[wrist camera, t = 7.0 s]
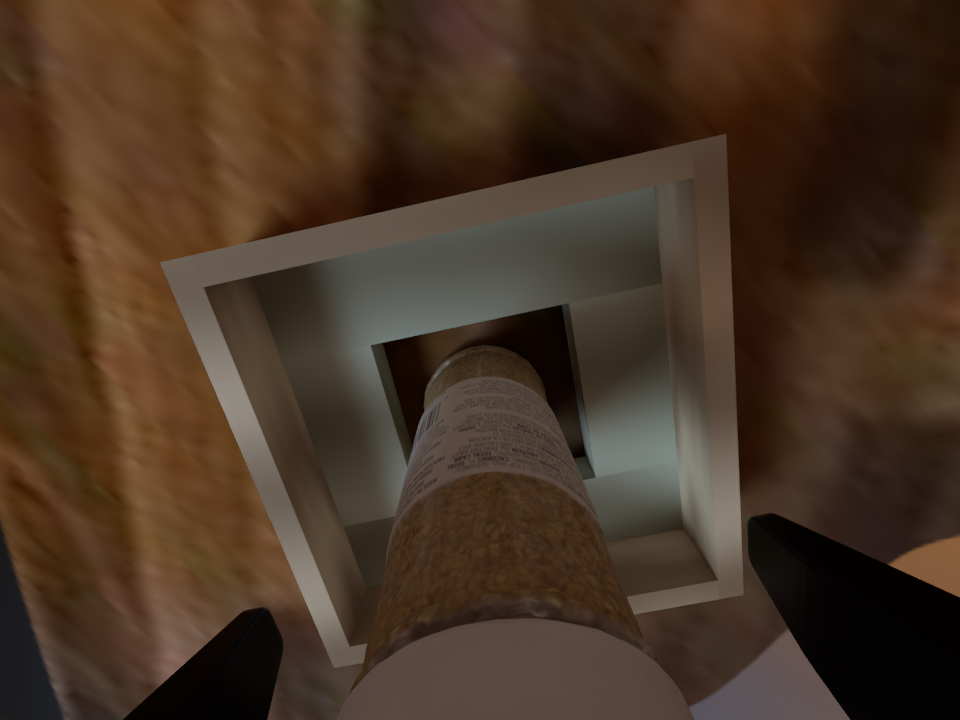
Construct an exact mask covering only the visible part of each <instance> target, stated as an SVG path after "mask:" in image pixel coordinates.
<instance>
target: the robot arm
mask: <svg viewBox="0 0 960 720" xmlns="http://www.w3.org/2000/svg"><path fill="white" fill-rule="evenodd" d="M747 529H748V555H749V559H750V562H751V564H752V566H753V568H754V570H755V572H756V573H757V575H758V577H759V579H760V580H761V582H762V584H763V585H764V587H765V589H766V591H767V592H768V594H769V596H770V597H771V599H772V601H773V602H774V604H775V606H776V608H777V609H778V611H779V613H780V614H781V616H782V618H783V620H784V621H785V623H786V625H787V626H788V628H789V630H790V632H791V633H792V635H793V637H794V638H795V640H796V642H797V643H798V645H799V646H800V648H801V650H802V651H803V653H804V655H805V656H806V658H807V659H808V661H809V662H810V663H811V665H812V666H813V668H814V669H815V671H816V672H817V674H818V675H819V676H820V678H821V679H822V681H823V682H824V683H825V685H826V686H827V688H829V690H830V692H831V693H832V695H833V696H834V697H835V699H836V700H837V702H838V703H839V704H840V706H841V707H842V709H843V710H844V711H845V713H846V714H847V716H848V717H849V718H850V720H960V597H957V596H955V595H953V594H951V593H948V592H946V591H944V590H942V589H940V588H938V587H935V586H933V585H931V584H929V583H926V582H924V581H922V580H919V579H918V578H916V577H913V576H911V575H909V574H906V573H905V572H902V571H900V570H898V569H896V568H893V567H891V566H889V565H887V564H885V563H883V562H880V561H878V560H876V559H874V558H872V557H869V556H867V555H865V554H863V553H861V552H858V551H856V550H854V549H852V548H850V547H847V546H845V545H843V544H841V543H839V542H836V541H834V540H832V539H830V538H828V537H825V536H823V535H821V534H819V533H817V532H814V531H812V530H810V529H808V528H806V527H803V526H801V525H799V524H797V523H795V522H792V521H790V520H788V519H786V518H784V517H781V516H779V515H777V514H774V513H767V514H762V515H756V516H752V517H750V518H749V519H748V524H747ZM282 654H283V639H282V636H281V634H280V632H279V630H278V627H277V625H276V623H275V621H274V619H273V617H272V615H271V612H270V611H269V610H268V609H267V608H266V607H260V608H255V609H249V610H246V611H243V612H242V613H240V614H239V615H238V616H237V617H236V618H235V619H234V620H233V621H232V622H230V623H229V624H228V625H227V626H226V627H225V628H224V629H223V630H222V631H220V632H219V633H218V634H217V635H216V636H215V637H214V638H213V639H212V640H210V641H209V642H208V643H207V644H206V645H205V646H204V647H203V648H202V649H201V650H199V651H198V652H197V653H196V654H195V655H194V656H193V657H192V658H191V659H189V660H188V661H187V662H186V663H185V664H184V665H183V666H182V667H181V668H179V669H178V670H177V671H176V672H175V673H174V674H173V675H172V676H171V677H169V678H168V679H167V680H166V681H165V682H164V683H163V684H162V685H161V686H160V687H158V688H157V689H156V690H155V691H154V692H153V693H152V694H151V695H150V696H148V697H147V698H146V699H145V700H144V701H143V702H142V703H141V704H140V705H138V706H137V707H136V708H135V709H134V710H133V711H132V712H131V713H130V714H129V715H127V716H126V717H125V718H124V719H123V720H267V719H268V714H269V710H270V706H271V701H272V697H273V693H274V688H275V684H276V680H277V676H278V671H279V667H280V663H281V658H282Z"/></svg>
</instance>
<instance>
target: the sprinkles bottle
mask: <svg viewBox="0 0 960 720" xmlns="http://www.w3.org/2000/svg"><path fill="white" fill-rule="evenodd" d="M424 410H425V411H424V414H423V415H422V417H421V420H420V422H419V425H418V428H417V432H416V436H415V440H414V444H413V448H412V452H411V456H410V460H409V463H408V467H407V471H406V475H405V479H404V483H403V487H402V491H401V495H400V499H399V503H398V507H397V511H396V515H395V519H394V523H393V527H392V531H391V535H390V539H389V543H388V549H387V555H386V569H385V573H384V576H383V580H382V585H381V589H380V594H379V600H378V604H377V609H376V614H375V618H374V622H373V626H372V631H371V634H370V636H369V640H368V643H367V647H366V652H365V658H364V664H363V669H362V671H361V672H360V674H359V675H358V677H357V678H356V680H355V682H354V684H353V686H352V688H351V691H350V694H349V696H348V698H347V700H346V701H345V703H344V704H343V706H342V708H341V710H340V712H339V714H338V716H337V718H336V720H694V718H693V716H692V714H691V712H690V709H689V707H688V705H687V703H686V701H685V699H684V697H683V695H682V693H681V691H680V690H679V688H678V687H677V686H676V684H675V683H674V681H673V680H672V679H671V678H670V677H669V675H668V674H667V673H666V672H665V671H664V670H663V669H662V668H661V667H660V666H659V665H658V664H657V663H656V656H655V654H654V651H653V650H652V648H651V647H650V645H649V644H648V643H647V642H646V641H645V640H644V638H643V636H642V634H641V632H640V629H639V626H638V623H637V621H636V619H635V617H634V613H633V610H632V608H631V607H630V604H629V601H628V599H627V597H626V595H625V593H624V590H623V589H622V587H621V584H620V582H619V579H618V574H617V571H616V569H615V567H614V565H613V562H612V559H611V557H610V554H609V550H608V548H607V545H606V542H605V540H604V538H603V529H602V525H601V523H600V520H599V518H598V515H597V513H596V510H595V508H594V506H593V503H592V501H591V499H590V496H589V494H588V492H587V489H586V487H585V485H584V482H583V480H582V477H581V475H580V473H579V470H578V468H577V466H576V464H575V461H574V459H573V456H572V454H571V452H570V449H569V447H568V445H567V442H566V440H565V438H564V435H563V433H562V431H561V428H560V426H559V423H558V421H557V419H556V417H555V415H554V413H553V411H552V410H551V408H550V407H549V405H548V403H547V401H546V393H545V389H544V386H543V383H542V381H541V379H540V377H539V375H538V374H537V372H536V371H535V369H534V368H533V366H532V365H531V364H530V363H529V361H527V360H526V359H524V358H522V357H521V356H519V355H518V354H517V353H515V352H513V351H510V350H507V349H505V348H503V347H498V346H489V345H481V346H474V347H469V348H466V349H464V350H461V351H458V352H456V353H455V354H453V355H452V356H450V357H448V358H447V359H446V360H445V361H443V362H442V363H441V364H440V365H439V366H438V368H437V370H436V371H435V372H434V373H433V375H432V377H431V379H430V381H429V383H428V385H427V388H426V391H425V400H424Z"/></svg>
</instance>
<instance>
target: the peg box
mask: <svg viewBox="0 0 960 720" xmlns="http://www.w3.org/2000/svg"><path fill="white" fill-rule="evenodd" d="M160 264H161V266H162V268H163V271H164V273H165V275H166V278H167V280H168V282H169V285H170V287H171V289H172V292H173V294H174V296H175V299H176V301H177V303H178V306H179V308H180V310H181V313H182V315H183V317H184V320H185V322H186V324H187V327H188V329H189V331H190V334H191V336H192V338H193V341H194V343H195V345H196V348H197V350H198V352H199V355H200V357H201V359H202V361H203V364H204V366H205V368H206V371H207V373H208V375H209V378H210V380H211V382H212V385H213V387H214V389H215V392H216V394H217V396H218V399H219V401H220V403H221V406H222V408H223V410H224V413H225V415H226V417H227V420H228V422H229V424H230V427H231V429H232V431H233V434H234V436H235V438H236V441H237V443H238V445H239V448H240V450H241V452H242V455H243V457H244V459H245V462H246V464H247V466H248V469H249V471H250V473H251V476H252V478H253V480H254V483H255V485H256V487H257V490H258V492H259V494H260V497H261V499H262V501H263V504H264V506H265V508H266V510H267V513H268V515H269V517H270V520H271V522H272V524H273V527H274V529H275V531H276V534H277V536H278V538H279V541H280V543H281V545H282V548H283V550H284V552H285V555H286V557H287V559H288V562H289V564H290V566H291V569H292V571H293V573H294V576H295V578H296V580H297V583H298V585H299V587H300V590H301V592H302V594H303V597H304V599H305V601H306V604H307V606H308V608H309V611H310V613H311V615H312V618H313V620H314V622H315V625H316V627H317V629H318V632H319V634H320V636H321V639H322V641H323V643H324V646H325V648H326V650H327V653H328V655H329V657H330V659H331V662H332V664H333V666H334V668H336V667H342V666H348V665H353V664H359V663H364V658H365V652H366V647H367V643H368V640H369V636H370V634H371V631H372V626H373V622H374V618H375V614H376V609H377V604H378V600H379V594H380V589H381V585H382V580H383V576H384V573H385V569H386V555H387V549H388V543H389V539H390V535H391V531H392V527H393V523H394V519H395V515H396V511H397V507H398V503H399V499H400V495H401V491H402V487H403V483H404V479H405V475H406V471H407V467H408V463H409V460H410V456H411V452H412V448H413V446H412V443H411V439H410V436H409V432H408V429H407V426H406V422H405V419H404V415H403V412H402V408H401V405H400V402H399V398H398V395H397V391H396V388H395V385H394V381H393V378H392V374H391V371H390V368H389V364H388V361H387V357H386V354H385V350H384V347H383V344H382V343H384V342H389V341H393V340H398V339H403V338H407V337H412V336H417V335H421V334H426V333H431V332H436V331H440V330H445V329H450V328H454V327H459V326H464V325H468V324H473V323H478V322H482V321H487V320H492V319H497V318H501V317H506V316H511V315H515V314H520V313H525V312H529V311H534V310H539V309H543V308H548V307H553V306H558V305H562V310H563V316H564V322H565V328H566V335H567V341H568V347H569V354H570V360H571V366H572V373H573V379H574V385H575V392H576V398H577V404H578V410H579V417H580V423H581V429H582V436H583V442H584V448H585V455H586V456H584V457H579V458H574V461H575V464H576V466H577V468H578V470H579V473H580V475H581V477H582V480H583V482H584V485H585V487H586V489H587V492H588V494H589V496H590V499H591V501H592V503H593V506H594V508H595V510H596V513H597V515H598V518H599V520H600V523H601V525H602V529H603V538H604V540H605V542H606V545H607V548H608V550H609V554H610V557H611V559H612V562H613V565H614V567H615V569H616V571H617V574H618V579H619V582H620V584H621V587H622V589H623V590H624V593H625V595H626V597H627V599H628V601H629V604H630V607H631V608H632V610H633V613H634V614H639V613H645V612H651V611H656V610H662V609H667V608H673V607H679V606H684V605H690V604H696V603H701V602H707V601H712V600H718V599H724V598H729V597H735V596H740V595H744V590H743V564H742V537H741V511H740V484H739V458H738V431H737V405H736V378H735V352H734V325H733V299H732V272H731V245H730V219H729V192H728V166H727V139H726V134H723V135H718V136H714V137H709V138H705V139H701V140H696V141H692V142H688V143H683V144H679V145H674V146H670V147H666V148H661V149H657V150H652V151H648V152H644V153H639V154H635V155H630V156H626V157H622V158H617V159H613V160H608V161H604V162H600V163H595V164H591V165H586V166H582V167H578V168H573V169H569V170H564V171H560V172H556V173H551V174H547V175H543V176H538V177H534V178H529V179H525V180H521V181H516V182H512V183H507V184H503V185H499V186H494V187H490V188H485V189H481V190H477V191H472V192H468V193H463V194H459V195H455V196H450V197H446V198H441V199H437V200H433V201H428V202H424V203H419V204H415V205H411V206H406V207H402V208H398V209H393V210H389V211H384V212H380V213H376V214H371V215H367V216H362V217H358V218H354V219H349V220H345V221H340V222H336V223H332V224H327V225H323V226H318V227H314V228H310V229H305V230H301V231H296V232H292V233H288V234H283V235H279V236H274V237H270V238H266V239H261V240H257V241H253V242H248V243H244V244H239V245H235V246H231V247H226V248H222V249H217V250H213V251H209V252H204V253H200V254H195V255H191V256H187V257H182V258H178V259H173V260H169V261H165V262H160Z"/></svg>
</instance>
